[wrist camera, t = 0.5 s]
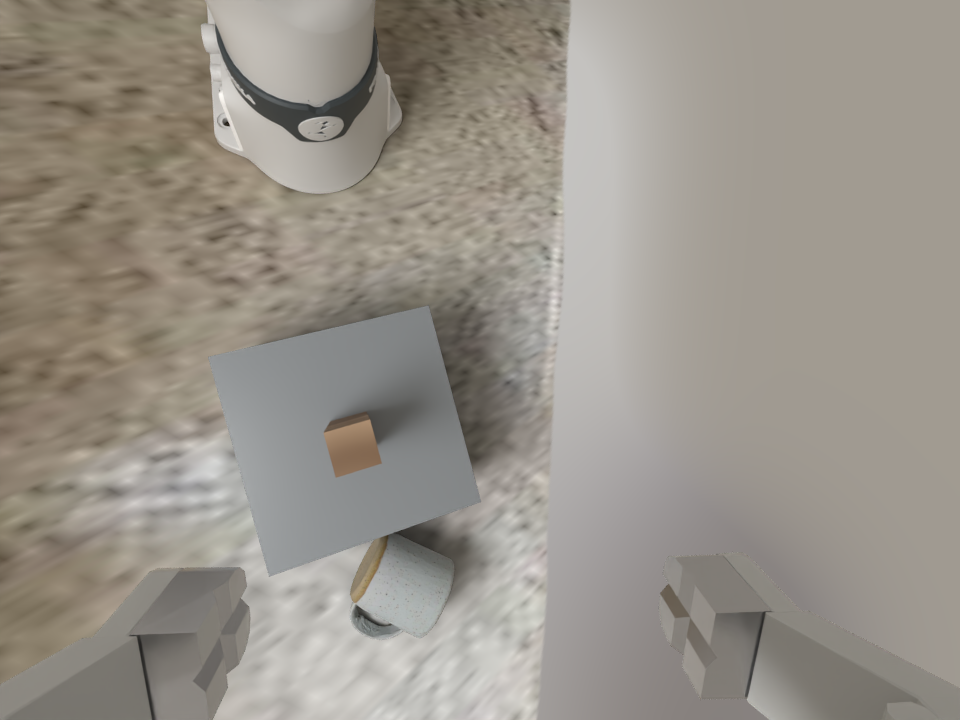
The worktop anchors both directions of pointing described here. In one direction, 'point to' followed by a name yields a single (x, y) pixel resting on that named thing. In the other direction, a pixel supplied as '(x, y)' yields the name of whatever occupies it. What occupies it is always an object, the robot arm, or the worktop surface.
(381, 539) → the ceramic mug
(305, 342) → the lid
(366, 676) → the worktop surface
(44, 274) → the worktop surface
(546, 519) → the worktop surface
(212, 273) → the worktop surface
